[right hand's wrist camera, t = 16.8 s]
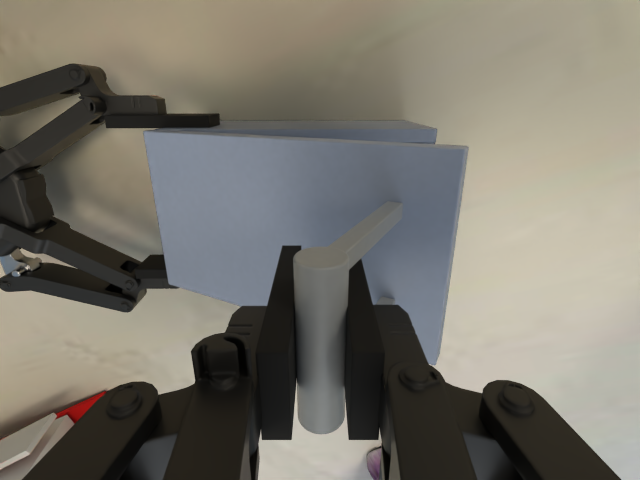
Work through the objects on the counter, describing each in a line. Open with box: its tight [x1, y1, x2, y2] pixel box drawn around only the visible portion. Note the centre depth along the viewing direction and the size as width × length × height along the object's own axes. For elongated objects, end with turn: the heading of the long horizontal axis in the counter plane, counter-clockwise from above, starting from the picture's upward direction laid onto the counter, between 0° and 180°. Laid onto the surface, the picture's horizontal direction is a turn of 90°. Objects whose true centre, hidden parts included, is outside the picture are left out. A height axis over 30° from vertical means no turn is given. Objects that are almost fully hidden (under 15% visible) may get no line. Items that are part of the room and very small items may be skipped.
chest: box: [155, 120, 437, 144], centre depth 28 cm, size 17×10×9 cm, turn 90°
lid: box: [143, 130, 469, 434], centre depth 17 cm, size 18×10×9 cm, turn 90°
